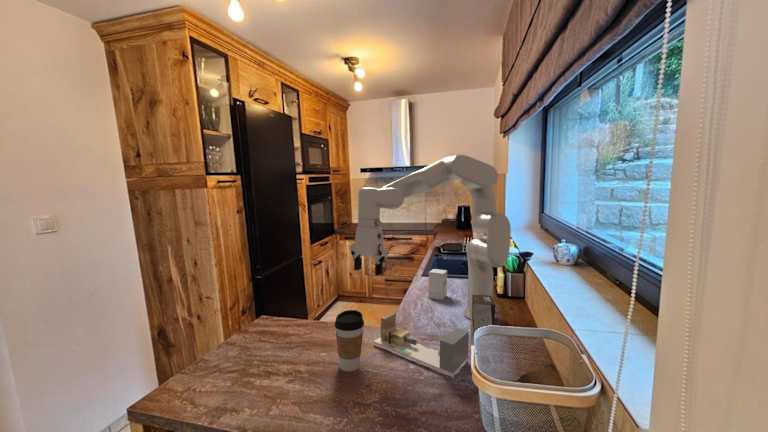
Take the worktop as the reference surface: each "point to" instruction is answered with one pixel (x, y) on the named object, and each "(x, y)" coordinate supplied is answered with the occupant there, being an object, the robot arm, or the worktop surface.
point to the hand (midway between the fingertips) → (367, 272)
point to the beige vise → (436, 351)
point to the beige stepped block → (394, 331)
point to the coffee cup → (349, 339)
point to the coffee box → (482, 312)
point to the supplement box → (437, 284)
